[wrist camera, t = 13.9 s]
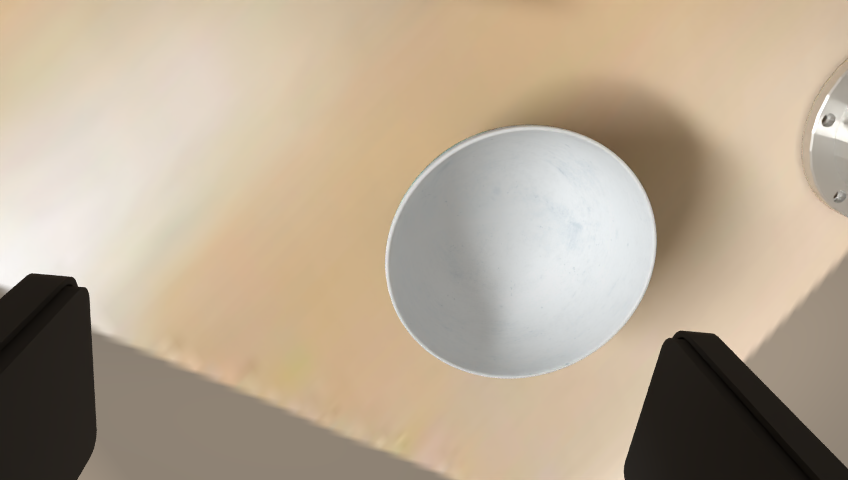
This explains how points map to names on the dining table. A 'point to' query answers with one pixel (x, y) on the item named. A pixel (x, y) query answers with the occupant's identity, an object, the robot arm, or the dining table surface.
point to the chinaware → (520, 251)
